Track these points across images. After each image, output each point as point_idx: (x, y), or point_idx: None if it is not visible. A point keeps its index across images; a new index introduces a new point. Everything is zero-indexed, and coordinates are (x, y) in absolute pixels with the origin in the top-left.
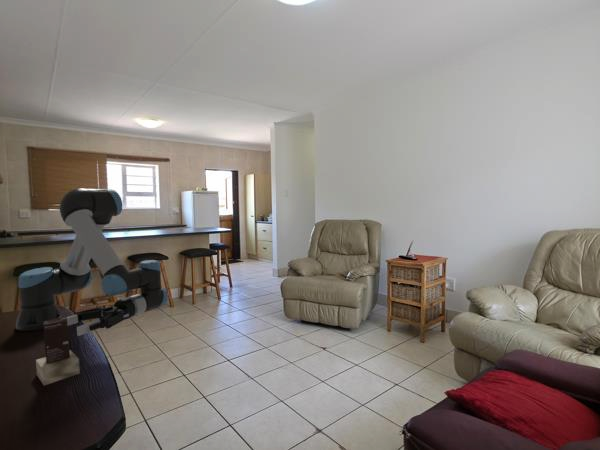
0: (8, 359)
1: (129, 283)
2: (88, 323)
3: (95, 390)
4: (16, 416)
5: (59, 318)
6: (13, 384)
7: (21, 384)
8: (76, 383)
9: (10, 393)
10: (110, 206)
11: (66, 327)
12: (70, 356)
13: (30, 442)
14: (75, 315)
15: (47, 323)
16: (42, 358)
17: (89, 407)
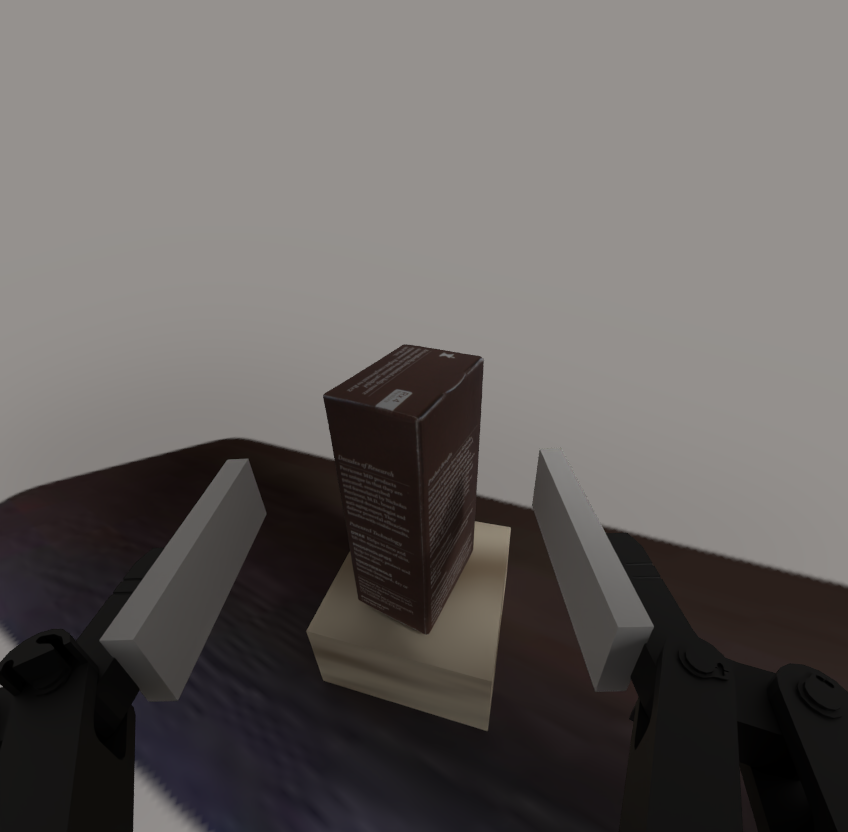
0: (809, 584)
1: None
2: (187, 529)
3: None
4: (300, 466)
5: (433, 391)
6: (492, 513)
7: None
8: (261, 616)
9: None
10: None
11: (332, 438)
12: (387, 624)
13: (184, 450)
14: (603, 597)
15: (408, 353)
16: (500, 545)
17: (97, 555)
